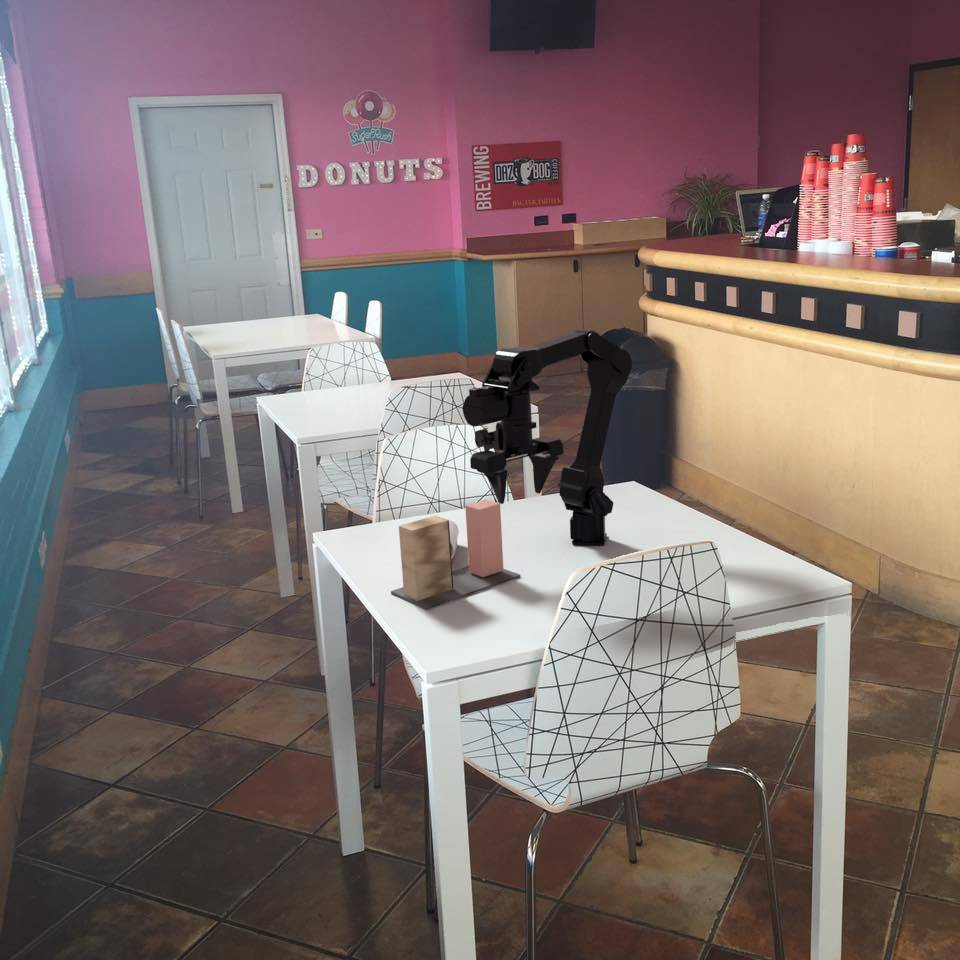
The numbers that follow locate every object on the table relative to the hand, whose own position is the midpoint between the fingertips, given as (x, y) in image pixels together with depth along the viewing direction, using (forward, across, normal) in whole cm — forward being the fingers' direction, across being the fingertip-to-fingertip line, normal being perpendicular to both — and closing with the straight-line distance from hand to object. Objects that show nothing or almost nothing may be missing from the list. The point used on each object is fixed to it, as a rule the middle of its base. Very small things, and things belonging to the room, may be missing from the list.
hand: (519, 498), depth 195 cm
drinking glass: (+10, +3, -21) cm, 23 cm away
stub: (+13, +9, 0) cm, 16 cm away
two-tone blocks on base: (+13, +16, 0) cm, 21 cm away
